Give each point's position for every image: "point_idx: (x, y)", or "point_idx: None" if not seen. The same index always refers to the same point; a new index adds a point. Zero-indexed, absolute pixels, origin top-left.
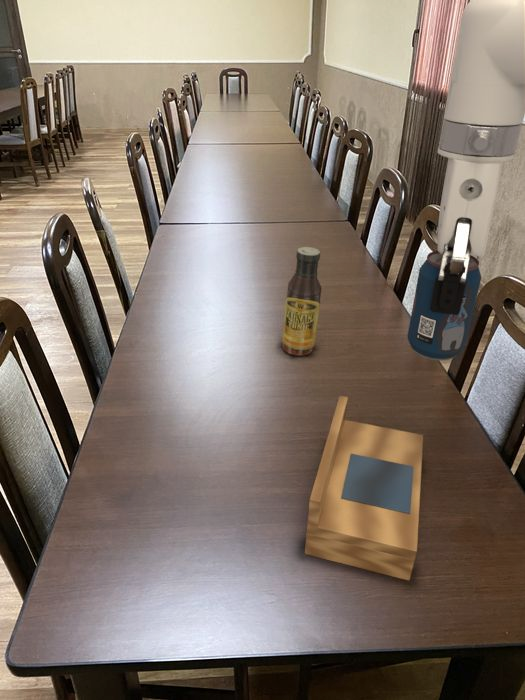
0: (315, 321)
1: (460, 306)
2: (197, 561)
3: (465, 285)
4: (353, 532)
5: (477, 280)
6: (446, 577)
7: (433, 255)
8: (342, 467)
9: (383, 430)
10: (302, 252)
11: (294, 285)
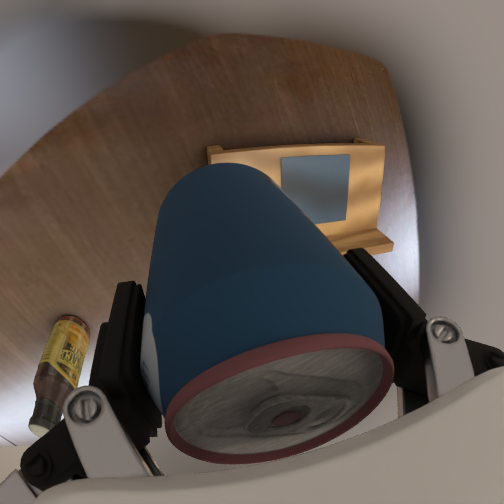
0: (60, 345)
1: (374, 260)
2: None
3: (418, 307)
4: (377, 200)
5: (343, 278)
6: (352, 108)
7: (237, 451)
8: None
9: None
10: None
11: None
